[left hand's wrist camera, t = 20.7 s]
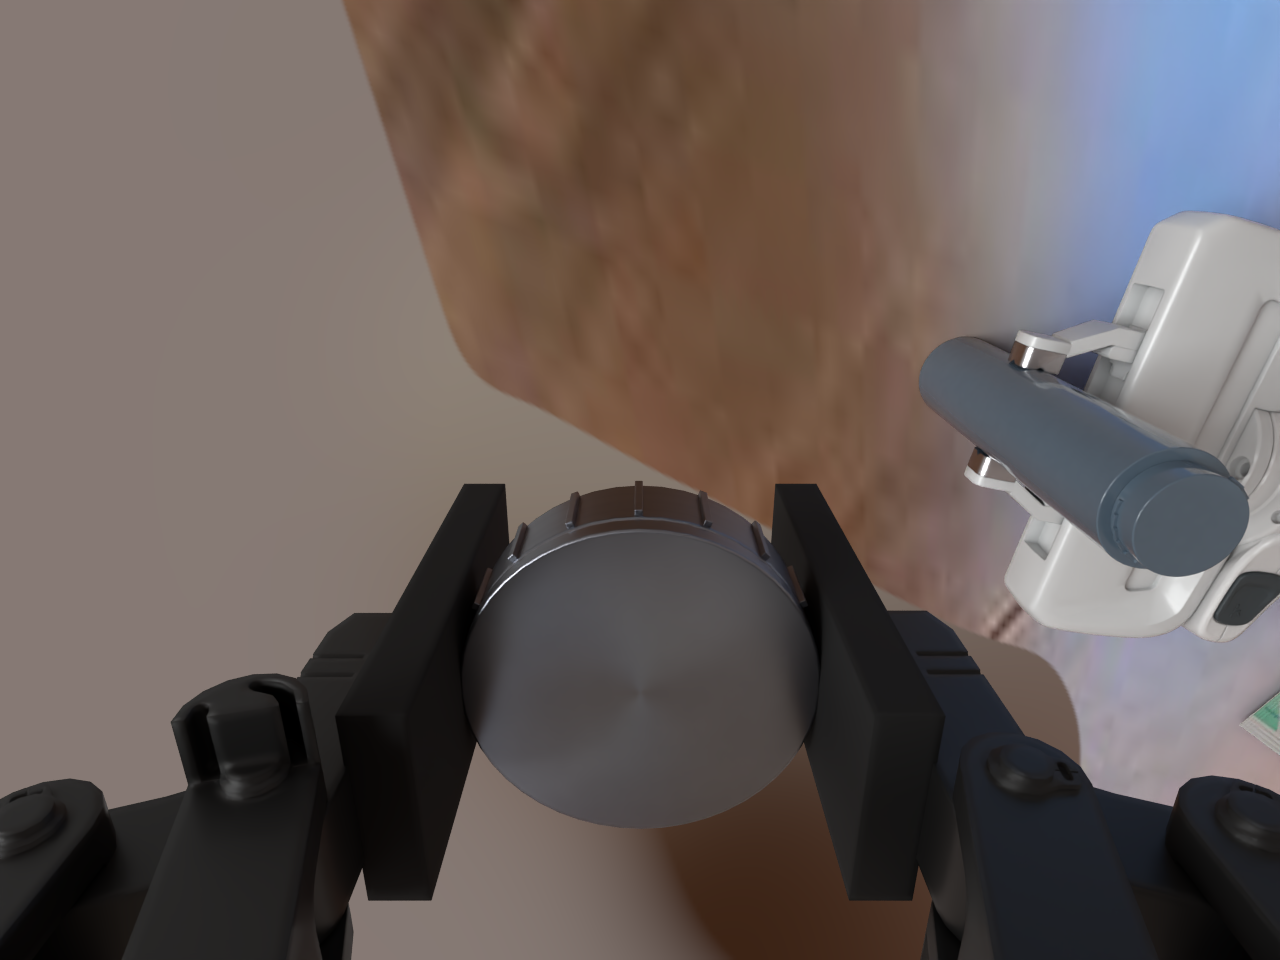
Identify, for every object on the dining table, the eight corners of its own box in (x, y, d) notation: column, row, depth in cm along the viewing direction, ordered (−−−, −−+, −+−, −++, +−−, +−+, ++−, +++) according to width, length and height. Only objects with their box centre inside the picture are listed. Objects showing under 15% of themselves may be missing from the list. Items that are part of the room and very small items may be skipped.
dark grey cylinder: (957, 431, 44) (1176, 612, 26) (901, 383, 43) (1089, 537, 25) (1018, 370, 42) (1293, 517, 24) (962, 319, 41) (1206, 433, 23)
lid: (461, 480, 11) (435, 525, 10) (816, 476, 11) (843, 521, 10) (490, 760, 13) (471, 833, 12) (793, 758, 13) (812, 831, 12)
